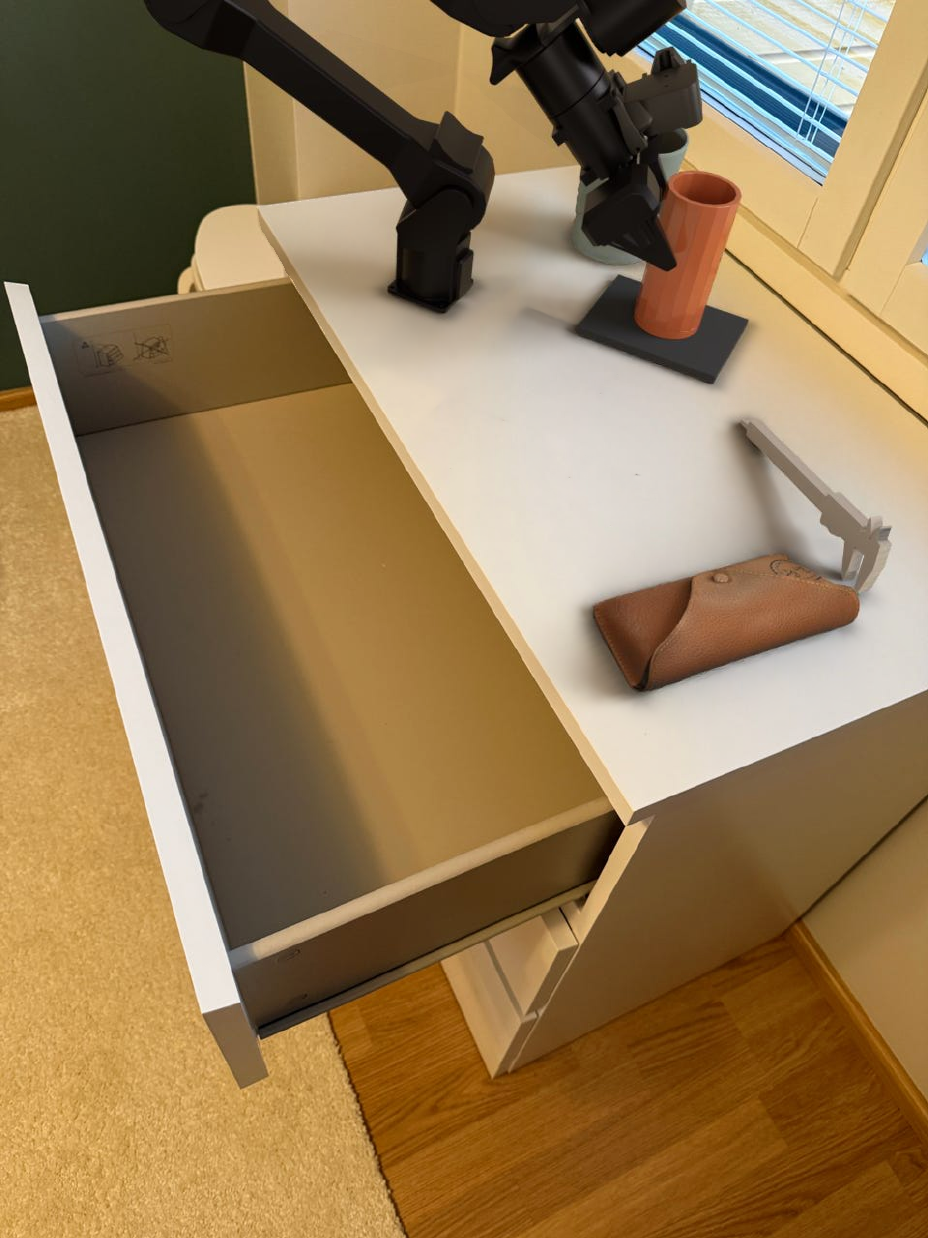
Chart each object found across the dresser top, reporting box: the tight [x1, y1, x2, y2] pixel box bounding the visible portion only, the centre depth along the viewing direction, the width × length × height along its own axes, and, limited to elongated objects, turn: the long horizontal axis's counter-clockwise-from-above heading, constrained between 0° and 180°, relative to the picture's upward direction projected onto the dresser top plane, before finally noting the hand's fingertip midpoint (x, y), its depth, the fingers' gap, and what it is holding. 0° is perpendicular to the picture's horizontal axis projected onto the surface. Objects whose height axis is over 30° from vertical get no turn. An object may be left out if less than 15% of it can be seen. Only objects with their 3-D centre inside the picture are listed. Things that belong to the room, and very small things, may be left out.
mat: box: [575, 274, 750, 384], centre depth 90 cm, size 14×11×1 cm
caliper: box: [740, 418, 893, 594], centre depth 74 cm, size 20×1×6 cm, turn 15°
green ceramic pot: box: [571, 128, 690, 266], centre depth 95 cm, size 10×10×12 cm
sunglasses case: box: [592, 553, 861, 693], centre depth 66 cm, size 18×7×7 cm
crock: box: [634, 170, 743, 339], centre depth 85 cm, size 6×6×13 cm
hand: (672, 241), depth 84 cm, fingers open, 9 cm apart
